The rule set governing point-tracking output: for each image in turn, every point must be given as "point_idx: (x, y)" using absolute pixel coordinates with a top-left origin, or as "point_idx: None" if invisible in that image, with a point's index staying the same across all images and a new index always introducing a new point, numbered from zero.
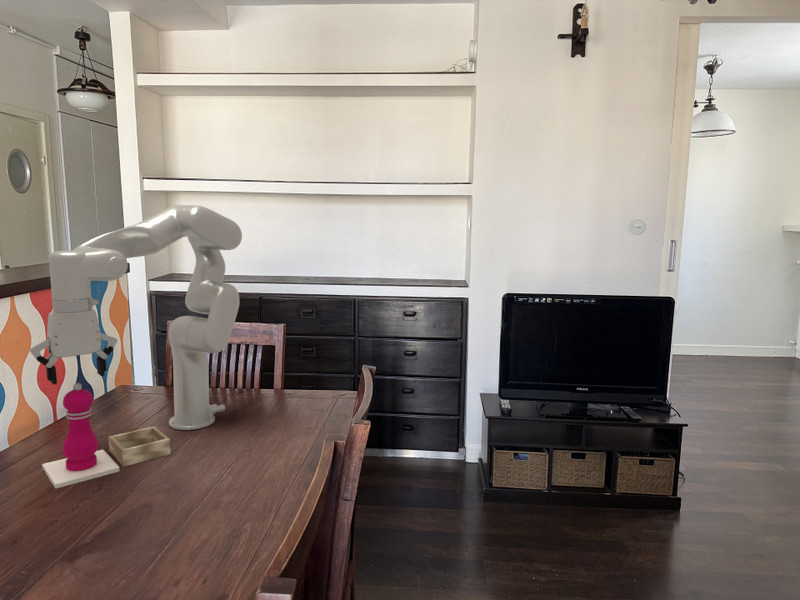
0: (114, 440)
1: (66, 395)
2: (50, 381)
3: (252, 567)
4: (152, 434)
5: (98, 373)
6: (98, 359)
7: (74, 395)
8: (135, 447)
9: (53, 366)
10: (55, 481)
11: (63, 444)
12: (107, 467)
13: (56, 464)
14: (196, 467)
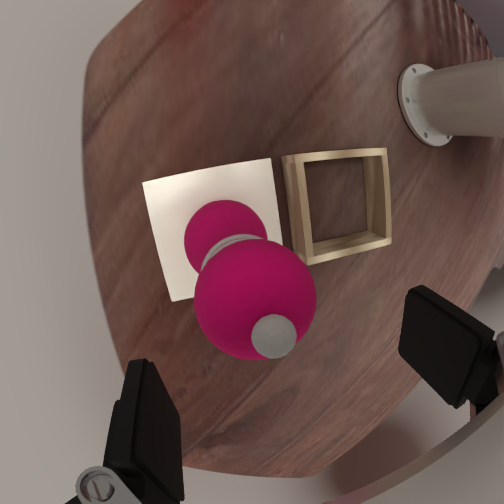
0: (302, 189)
1: (213, 333)
2: (132, 360)
3: (325, 464)
4: (372, 156)
5: (406, 314)
6: (464, 380)
7: (247, 356)
8: (331, 258)
9: (166, 499)
10: (171, 289)
11: (186, 248)
12: None
13: (170, 199)
14: (381, 306)
